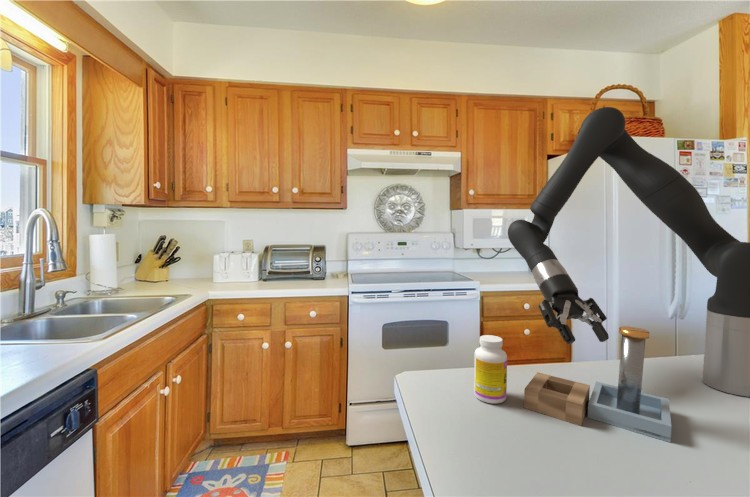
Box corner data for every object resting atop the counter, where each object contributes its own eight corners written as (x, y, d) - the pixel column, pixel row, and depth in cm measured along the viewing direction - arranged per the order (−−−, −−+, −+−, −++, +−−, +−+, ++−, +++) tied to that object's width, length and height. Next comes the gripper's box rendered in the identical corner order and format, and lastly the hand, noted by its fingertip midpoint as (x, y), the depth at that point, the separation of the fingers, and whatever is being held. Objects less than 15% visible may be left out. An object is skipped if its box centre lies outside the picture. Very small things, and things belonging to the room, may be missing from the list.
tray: (595, 393, 74) (596, 381, 74) (667, 412, 67) (668, 398, 66) (587, 417, 65) (588, 403, 65) (670, 442, 57) (671, 426, 57)
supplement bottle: (508, 406, 69) (510, 344, 68) (475, 403, 70) (476, 342, 69) (503, 391, 75) (504, 334, 75) (472, 388, 77) (473, 332, 76)
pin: (614, 402, 69) (620, 324, 68) (642, 410, 66) (649, 329, 65) (612, 411, 66) (618, 329, 65) (642, 420, 63) (649, 335, 62)
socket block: (536, 389, 76) (537, 372, 76) (589, 404, 70) (589, 385, 70) (524, 407, 68) (524, 388, 68) (581, 426, 62) (582, 404, 62)
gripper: (536, 273, 81) (570, 335, 71) (587, 272, 84) (627, 331, 73) (521, 291, 87) (551, 351, 76) (569, 289, 89) (605, 347, 79)
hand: (588, 341), depth 75 cm, fingers open, 8 cm apart
